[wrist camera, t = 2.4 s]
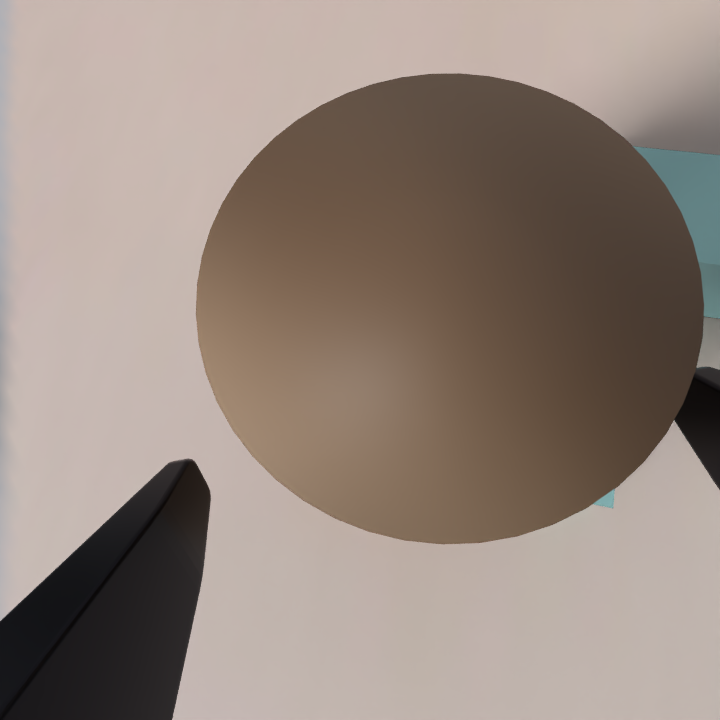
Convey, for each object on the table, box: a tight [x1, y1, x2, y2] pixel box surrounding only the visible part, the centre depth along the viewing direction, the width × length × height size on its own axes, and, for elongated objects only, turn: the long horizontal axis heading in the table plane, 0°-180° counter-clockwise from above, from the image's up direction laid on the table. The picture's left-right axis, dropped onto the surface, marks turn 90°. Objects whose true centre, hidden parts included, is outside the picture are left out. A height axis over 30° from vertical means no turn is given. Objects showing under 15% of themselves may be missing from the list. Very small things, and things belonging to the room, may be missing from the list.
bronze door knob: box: [196, 74, 704, 544], centre depth 11 cm, size 6×6×14 cm
